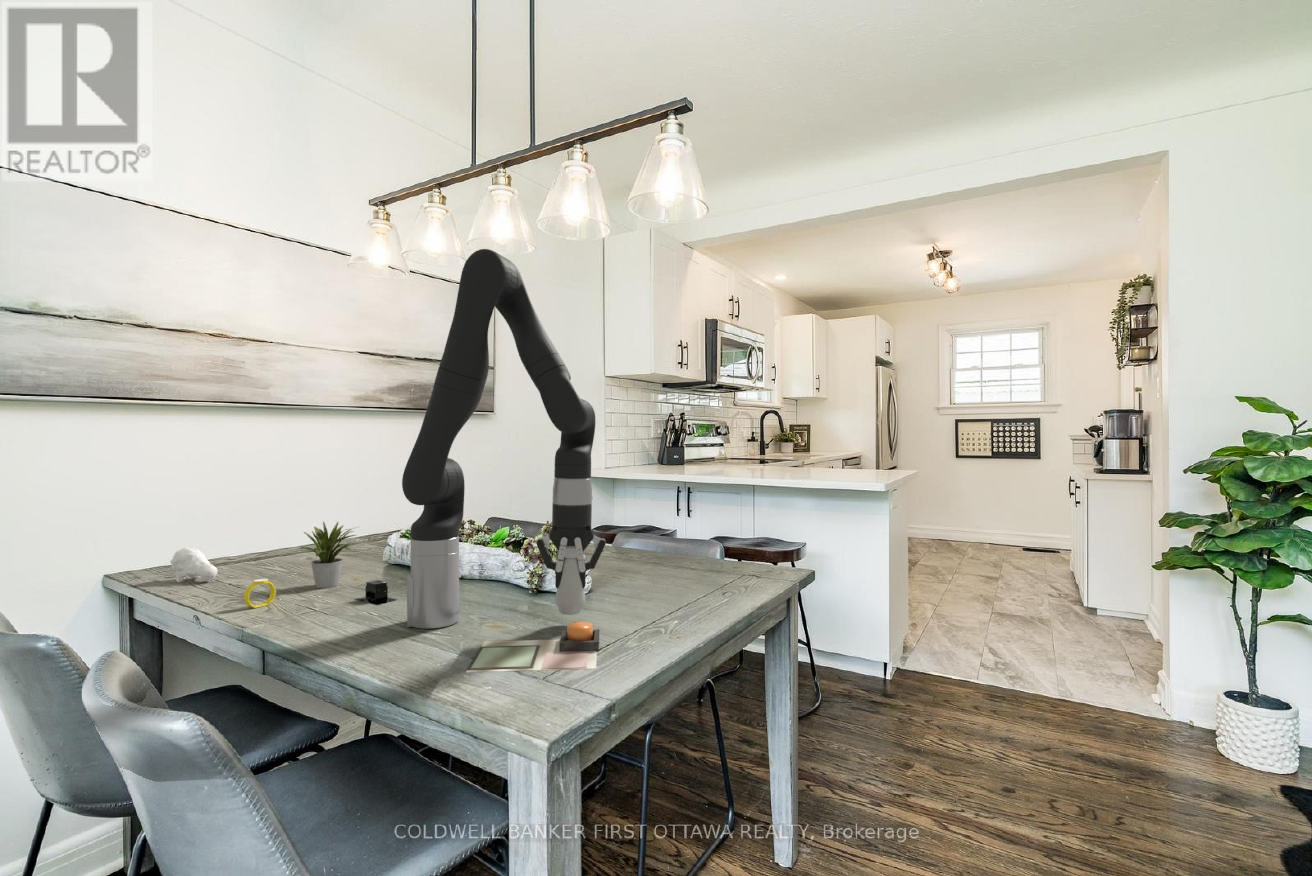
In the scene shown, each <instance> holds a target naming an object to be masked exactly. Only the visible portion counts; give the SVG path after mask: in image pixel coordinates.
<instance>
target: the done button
mask: <svg viewBox="0 0 1312 876" xmlns="http://www.w3.org/2000/svg"><path fill="white" fill-rule="evenodd" d="M566 627H567V639H568V640H570V641H587V640H590V639H592V638H593V630H594V628H593V623H591V622H587V621H576V622H572V623H569V624H568V625H567V626H566Z"/></svg>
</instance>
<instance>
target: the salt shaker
mask: <svg viewBox="0 0 1312 876" xmlns="http://www.w3.org/2000/svg"><path fill="white" fill-rule="evenodd" d="M562 550H563V549H562ZM579 550H580V549H579ZM564 554H565V556H564V561H563V567H562V573H563V574H562V578H561V582H560V586H558V588H556V592H555V598H554V599H555V600H554V601H555V604H556V606H557V609H558V612H559V613H560V614H561V615H569V616H573V615H577V614H578V615H579V614H580V613H581V612H582V609H583V607H584V605H585V603H586V594H585V587H584V588H583V587H582V581H581V579H580V575H579V573H580V570H579V564H578V559H577V555H578V552H577V549H576V547H575V546H566V549H565V552H564Z"/></svg>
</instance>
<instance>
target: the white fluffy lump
mask: <svg viewBox="0 0 1312 876" xmlns="http://www.w3.org/2000/svg"><path fill="white" fill-rule="evenodd" d="M170 565H171V570H172V571H173V572H174V575H175V578H176V582H177V583H179V584H180V583H181V582H182V581H184V579H185V577H187V576H188V577H189V578H190V579H197V580H199V581H200V583H203V582H206V583H211V582H212V581H213V580H214V579H215V577H216V576H217V574H218V568H217V567H216V566H215V565H213V564H212V563H211V562H210V561H209V560H208V559H207V557H206V555H205V554H204V553H203V552H202V551H201V550H199V549H197V548H196V547H193V546H188V547H187V546H186V547H182V548H180V549H179V550H176V551H175V553H174V555H173V556H172V559H171V560H170Z"/></svg>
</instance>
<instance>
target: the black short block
mask: <svg viewBox="0 0 1312 876" xmlns="http://www.w3.org/2000/svg"><path fill="white" fill-rule="evenodd" d="M365 584H366V586H365V596H361V598H360V597H357V598H354V601H359V602H363V603H366V604H371V605H375V606H381V605H385V604H388V602H389V603H392V602H396V600H397V598H394V597H390V598H389V596H388V591H389V590H388V587H389V586H388V583H387V581H383V580H381V579H374V580H372V581H366V583H365ZM397 601H398V600H397Z"/></svg>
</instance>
